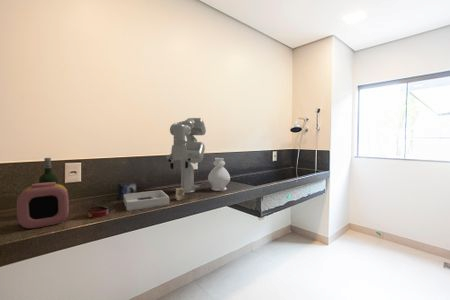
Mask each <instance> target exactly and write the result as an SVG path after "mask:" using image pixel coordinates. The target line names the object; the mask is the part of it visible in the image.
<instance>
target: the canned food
mask: <svg viewBox="0 0 450 300" xmlns="http://www.w3.org/2000/svg"><path fill="white" fill-rule="evenodd" d="M88 203H89V204H91V205H94V206H96V207H93V208H89V209H88V210H87V211H86V212H87V218H89V219H99V218H103V217H106V216H108V215H109V207H108V206H103V205H99V204H96V203H95V202H93V201H91V200H88Z"/></svg>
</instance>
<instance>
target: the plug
mask: <svg viewBox="0 0 450 300" xmlns="http://www.w3.org/2000/svg"><path fill="white" fill-rule="evenodd" d="M175 199H176V200H177V201H183V200H185V193H184V189H183V188H181V187H177V188H176V187H175Z"/></svg>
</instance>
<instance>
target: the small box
mask: <svg viewBox="0 0 450 300" xmlns="http://www.w3.org/2000/svg"><path fill="white" fill-rule="evenodd" d="M131 193H137V182H135V181H124V182H118V183H117V199H118V200H120V201H124V200H123V199H124V194H131Z"/></svg>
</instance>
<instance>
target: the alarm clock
mask: <svg viewBox="0 0 450 300" xmlns="http://www.w3.org/2000/svg"><path fill="white" fill-rule="evenodd" d="M16 199H17V200H16V214H17V215H16V217H17V221H18V224H19V225H21V227H22V228H25V229H37V228H43V227H49V226H55V225H58V224H60V223H62V222H63V221H65V220H66V218H67V217H68V216H69V212H70V206H69V205H70V203H69V191H68V189H67V187H65V185H63V184H61V183H58V184H56V182H46V183H39V182H37V183H32V184H31V185H30V186H27V187H25V188H24V189H22V191H21V193H20V194H19V196H18V197H17V198H16Z"/></svg>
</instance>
